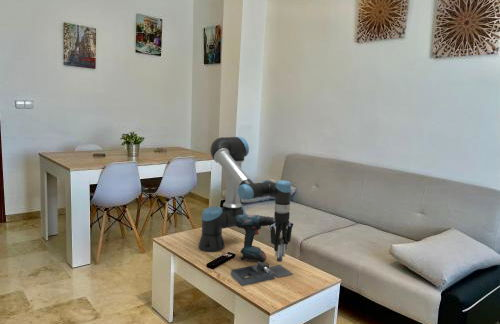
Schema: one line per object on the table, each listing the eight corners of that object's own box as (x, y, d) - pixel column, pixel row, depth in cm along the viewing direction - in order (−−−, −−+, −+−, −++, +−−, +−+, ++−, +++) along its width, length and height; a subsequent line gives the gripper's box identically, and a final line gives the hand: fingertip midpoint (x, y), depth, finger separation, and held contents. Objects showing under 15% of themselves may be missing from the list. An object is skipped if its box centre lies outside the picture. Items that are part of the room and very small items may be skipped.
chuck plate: (230, 275, 190) (231, 264, 189) (262, 269, 199) (262, 258, 198) (242, 286, 180) (242, 274, 179) (274, 278, 189) (275, 267, 188)
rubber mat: (265, 268, 200) (265, 267, 200) (279, 265, 204) (279, 264, 204) (278, 277, 190) (278, 277, 189) (292, 274, 194) (293, 273, 194)
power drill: (274, 264, 205) (276, 219, 201) (232, 259, 209) (233, 215, 206) (276, 258, 214) (278, 214, 210) (236, 253, 218) (237, 210, 214)
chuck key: (276, 263, 193) (277, 240, 191) (275, 258, 199) (276, 236, 197) (283, 263, 193) (284, 240, 191) (282, 258, 199) (283, 236, 197)
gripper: (272, 215, 185) (270, 261, 188) (299, 211, 193) (297, 256, 196) (264, 211, 191) (262, 256, 195) (290, 208, 199) (288, 251, 203)
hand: (280, 256), depth 195 cm, fingers closed on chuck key, 3 cm apart
